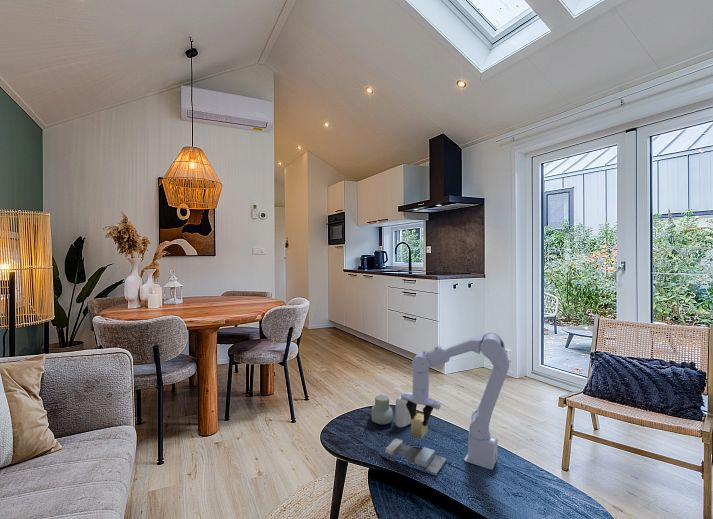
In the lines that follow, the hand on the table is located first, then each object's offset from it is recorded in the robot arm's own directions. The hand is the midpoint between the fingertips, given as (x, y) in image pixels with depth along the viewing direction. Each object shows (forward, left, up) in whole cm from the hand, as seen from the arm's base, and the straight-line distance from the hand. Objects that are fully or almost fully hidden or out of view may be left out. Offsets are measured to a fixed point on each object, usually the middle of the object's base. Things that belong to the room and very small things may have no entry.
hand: (419, 423), depth 144 cm
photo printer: (+11, -14, -9) cm, 20 cm away
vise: (-2, +8, -9) cm, 12 cm away
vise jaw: (-5, +8, -8) cm, 13 cm away
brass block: (0, 0, -4) cm, 4 cm away
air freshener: (+20, -10, -9) cm, 25 cm away
